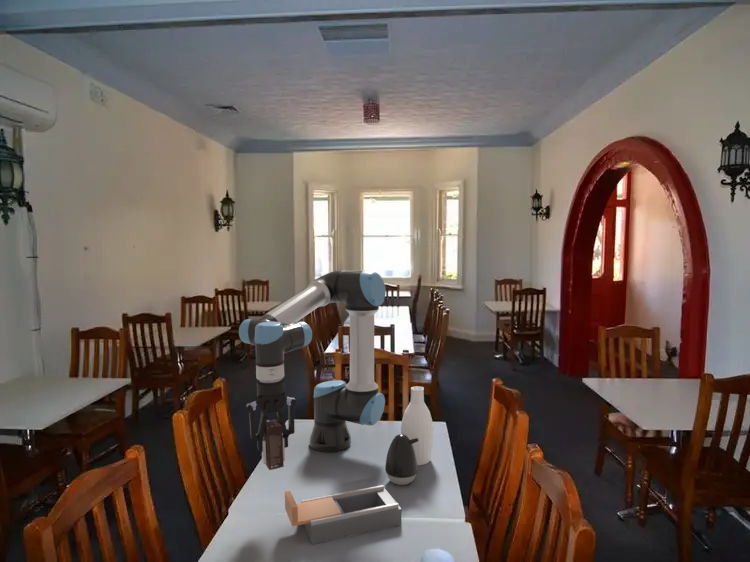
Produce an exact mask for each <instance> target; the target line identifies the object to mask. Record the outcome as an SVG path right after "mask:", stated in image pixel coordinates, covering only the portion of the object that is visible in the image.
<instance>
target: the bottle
mask: <svg viewBox="0 0 750 562" xmlns="http://www.w3.org/2000/svg"><path fill="white" fill-rule="evenodd" d="M424 390H425V388H424V386H418V385H416V386H412V387H410V400H411V402H410V401H409V403H408V405H407V407H406V408H405V410H404V413H403V417H402V420H401V426H400V434H404V435H406V436H408V438H409V439H410V440H411V439H415V438H418V442H415V443H413V444H412V445H413V447H414V450H415V454H416V458H417V465H418V466H425V465H427V464H428V463H429V462H430V461H431V458H432V451H433V446H434V445H433V444H434V425H433V419H432V415H431V411H430V409H429V408H428V406H427V405H426V403H425V396H424V393H425V392H424Z"/></svg>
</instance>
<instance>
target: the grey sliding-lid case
mask: <svg viewBox="0 0 750 562" xmlns="http://www.w3.org/2000/svg"><path fill="white" fill-rule="evenodd" d="M329 497H332V498H333V500H334V502H335V503H336V505H337V507H338V508H339V510H340V512H341V514H340V515H335V516H330V517H325V518H320V519H315V520H311V523H306V524H303V526H304V528H305V530H306V532H307V535H308V537H309V538H308V539H310V541H311V544H312V545H316V544H319V543H324V542H330V541H334V540H339V539H343V538H347V537H353V536H356V535H363V534H365V533H371V532H376V531H380V530H384V529H388V528H393V527H398V526H401V525H402V508H401V506H400V505H399V503H398V502H397V501H396V500H395V499H394V498H393V497H392V495H391V494H390V493H389V492H388V490H387V489H385V486H384V484H382V485H377V486H371V487H370V486H369V487H366V488H361V489H354V490H349V491H343V492H339V493H333V494H328V495H323V496H318V497H312V498H307V499H301V500H300V503H302V502H308V501H313V500H318V499H323V498H329Z"/></svg>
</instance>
